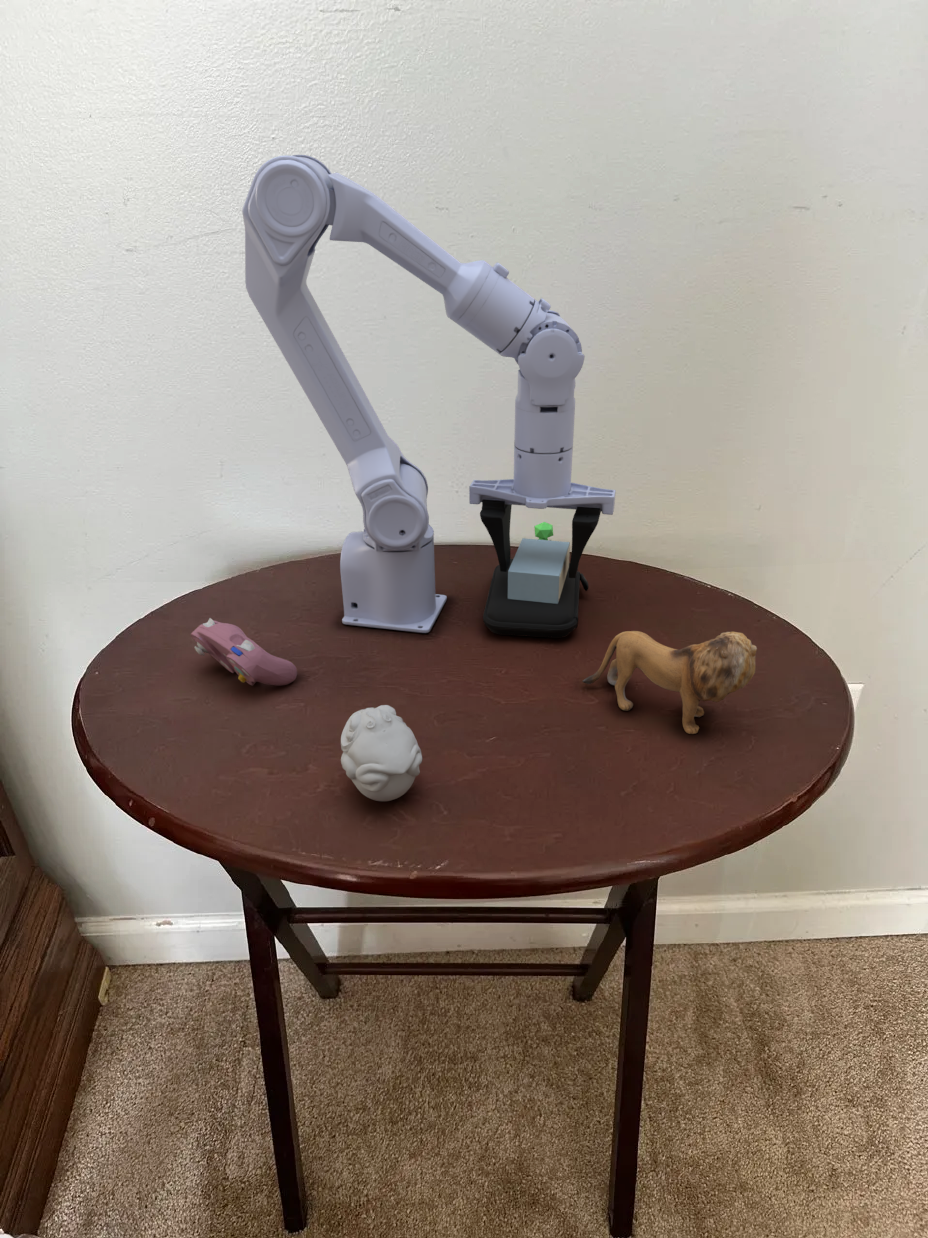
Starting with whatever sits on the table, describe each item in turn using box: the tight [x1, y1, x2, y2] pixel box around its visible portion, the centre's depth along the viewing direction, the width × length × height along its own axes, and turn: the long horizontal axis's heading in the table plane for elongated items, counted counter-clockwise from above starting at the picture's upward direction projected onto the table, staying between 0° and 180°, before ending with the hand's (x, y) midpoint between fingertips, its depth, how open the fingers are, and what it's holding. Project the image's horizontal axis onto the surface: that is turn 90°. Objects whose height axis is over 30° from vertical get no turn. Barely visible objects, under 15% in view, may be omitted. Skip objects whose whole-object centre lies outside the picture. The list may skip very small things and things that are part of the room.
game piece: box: [533, 521, 554, 540], centre depth 99 cm, size 4×4×6 cm
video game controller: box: [190, 617, 298, 687], centre depth 79 cm, size 10×5×7 cm, turn 47°
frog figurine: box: [340, 704, 423, 802], centre depth 64 cm, size 6×7×7 cm
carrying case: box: [482, 558, 589, 639], centre depth 91 cm, size 11×3×15 cm
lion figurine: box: [581, 630, 758, 735], centre depth 73 cm, size 15×5×9 cm, turn 62°
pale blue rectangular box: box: [508, 537, 571, 604], centre depth 89 cm, size 5×8×3 cm, turn 167°
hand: (538, 570), depth 90 cm, fingers open, 7 cm apart
